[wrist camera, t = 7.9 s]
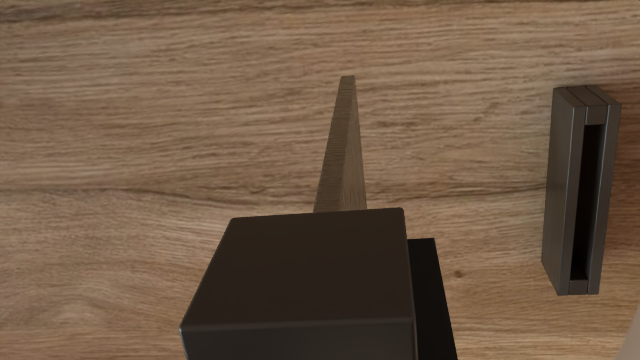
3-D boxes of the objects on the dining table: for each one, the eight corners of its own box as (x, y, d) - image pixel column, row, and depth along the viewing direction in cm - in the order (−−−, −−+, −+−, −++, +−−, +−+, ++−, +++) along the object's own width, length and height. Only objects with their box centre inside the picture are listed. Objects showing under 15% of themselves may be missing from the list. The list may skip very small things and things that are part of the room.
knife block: (553, 87, 30) (573, 107, 27) (596, 84, 30) (622, 103, 27) (540, 261, 35) (557, 295, 31) (578, 260, 34) (598, 294, 31)
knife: (306, 60, 15) (175, 329, 5) (386, 53, 15) (415, 319, 5) (339, 325, 19) (300, 786, 9) (404, 323, 19) (442, 796, 9)
